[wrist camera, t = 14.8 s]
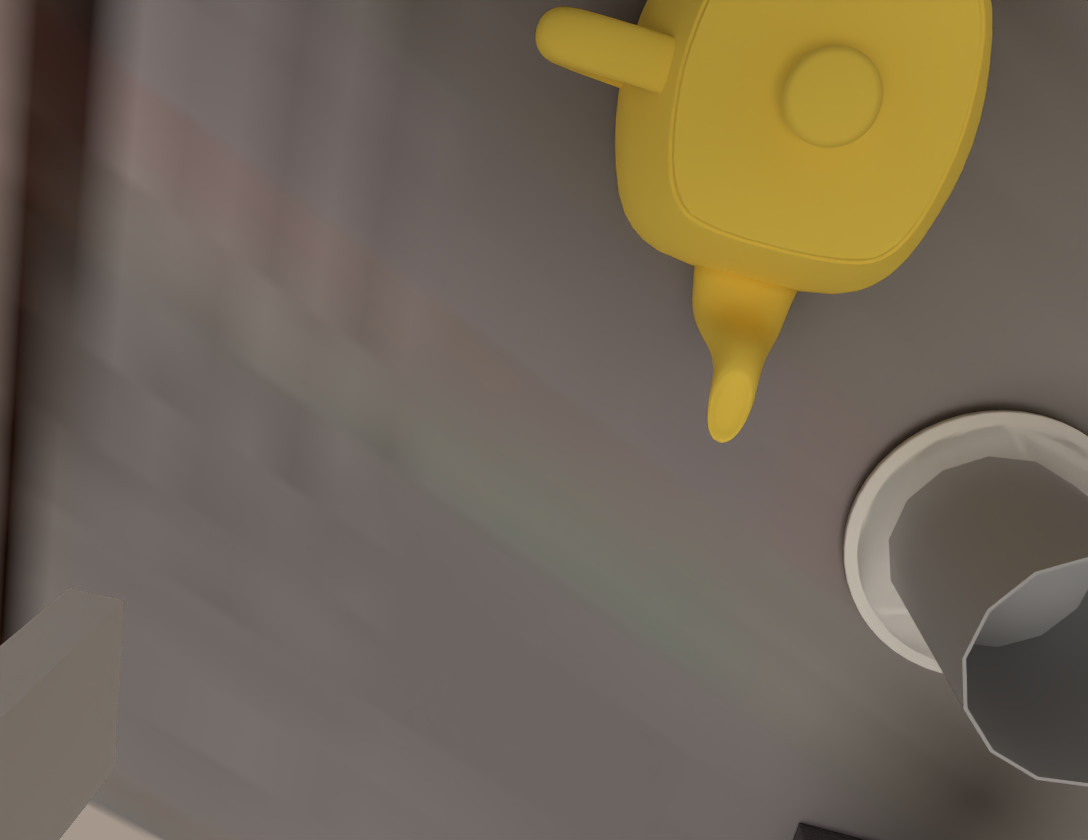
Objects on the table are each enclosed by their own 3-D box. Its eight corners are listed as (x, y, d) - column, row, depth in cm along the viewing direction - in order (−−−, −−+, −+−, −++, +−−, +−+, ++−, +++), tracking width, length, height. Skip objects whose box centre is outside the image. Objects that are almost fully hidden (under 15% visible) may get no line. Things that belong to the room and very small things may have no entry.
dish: (893, 373, 41) (900, 380, 40) (1176, 446, 41) (1192, 455, 40) (803, 624, 45) (807, 637, 44) (1064, 693, 44) (1075, 708, 43)
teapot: (625, -263, 36) (619, -425, 26) (1045, -163, 36) (1212, -287, 25) (494, 320, 42) (447, 379, 32) (850, 409, 42) (920, 498, 32)
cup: (1139, 525, 41) (1292, 644, 31) (1010, 674, 43) (1116, 827, 34) (969, 420, 40) (1071, 507, 31) (848, 576, 43) (908, 703, 33)
